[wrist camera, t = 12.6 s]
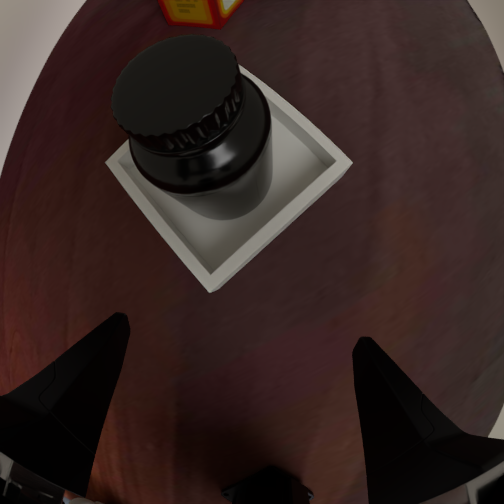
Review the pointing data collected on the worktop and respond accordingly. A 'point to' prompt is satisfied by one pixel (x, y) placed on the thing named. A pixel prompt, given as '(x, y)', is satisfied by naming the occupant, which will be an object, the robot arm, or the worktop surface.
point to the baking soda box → (199, 12)
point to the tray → (258, 220)
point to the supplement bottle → (197, 125)
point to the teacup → (82, 501)
